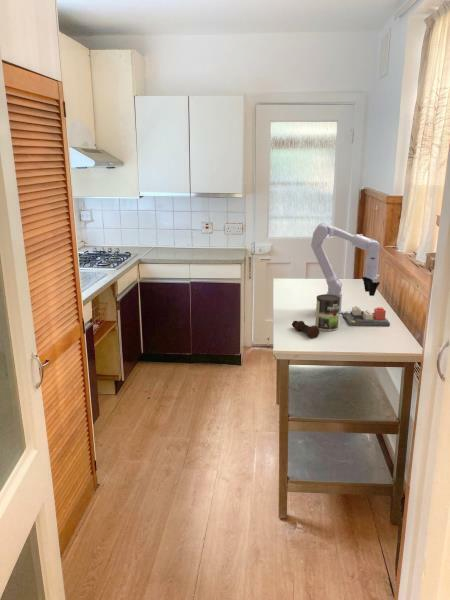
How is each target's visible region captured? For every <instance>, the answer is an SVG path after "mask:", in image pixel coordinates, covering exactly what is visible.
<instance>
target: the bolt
mask: <svg viewBox="0 0 450 600" xmlns="http://www.w3.org/2000/svg"><path fill="white" fill-rule="evenodd" d="M291 326H292V327H293V328H295V330H296V332H303V333H306V334H307V336H308V338H309V339H315V338H317V337H318V336H319V335H320V332H321V330H319V329H318V327H317V326H315V325H311V326H310V325H307V324H306V323H305V322H304V321H303V320H299V321H298V320H293V321H292V323H291Z"/></svg>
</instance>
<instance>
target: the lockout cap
mask: <svg viewBox="0 0 450 600" xmlns="http://www.w3.org/2000/svg"><path fill="white" fill-rule="evenodd" d="M373 311H374V312H373V313H374V319H375V320H385V318H386V314H387V313H386V311H387V310H386V309H385V308H383V306H382V307H374V309H373Z"/></svg>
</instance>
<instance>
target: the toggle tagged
mask: <svg viewBox="0 0 450 600" xmlns="http://www.w3.org/2000/svg"><path fill="white" fill-rule="evenodd" d="M372 313H373V312H371V311H369V310H366V311H365V310H363V318H364V319H365V320H372V318H373V314H372Z"/></svg>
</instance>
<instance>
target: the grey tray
mask: <svg viewBox="0 0 450 600" xmlns="http://www.w3.org/2000/svg"><path fill="white" fill-rule="evenodd" d="M363 311H364V310H363ZM363 311H362V310H361V315H353V314H352V310H350V312H348V311H345V312H343V314H342V317H343V319H345V321H346V322H347V324H348V325H349V326H350V327H366V326H367V327H390V325H391V322H390V321H389V320H388V318H387V317H385V320H375V319H374V312H371V313H372V314H373V318H372V320H365V319H364V318H363Z"/></svg>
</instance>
